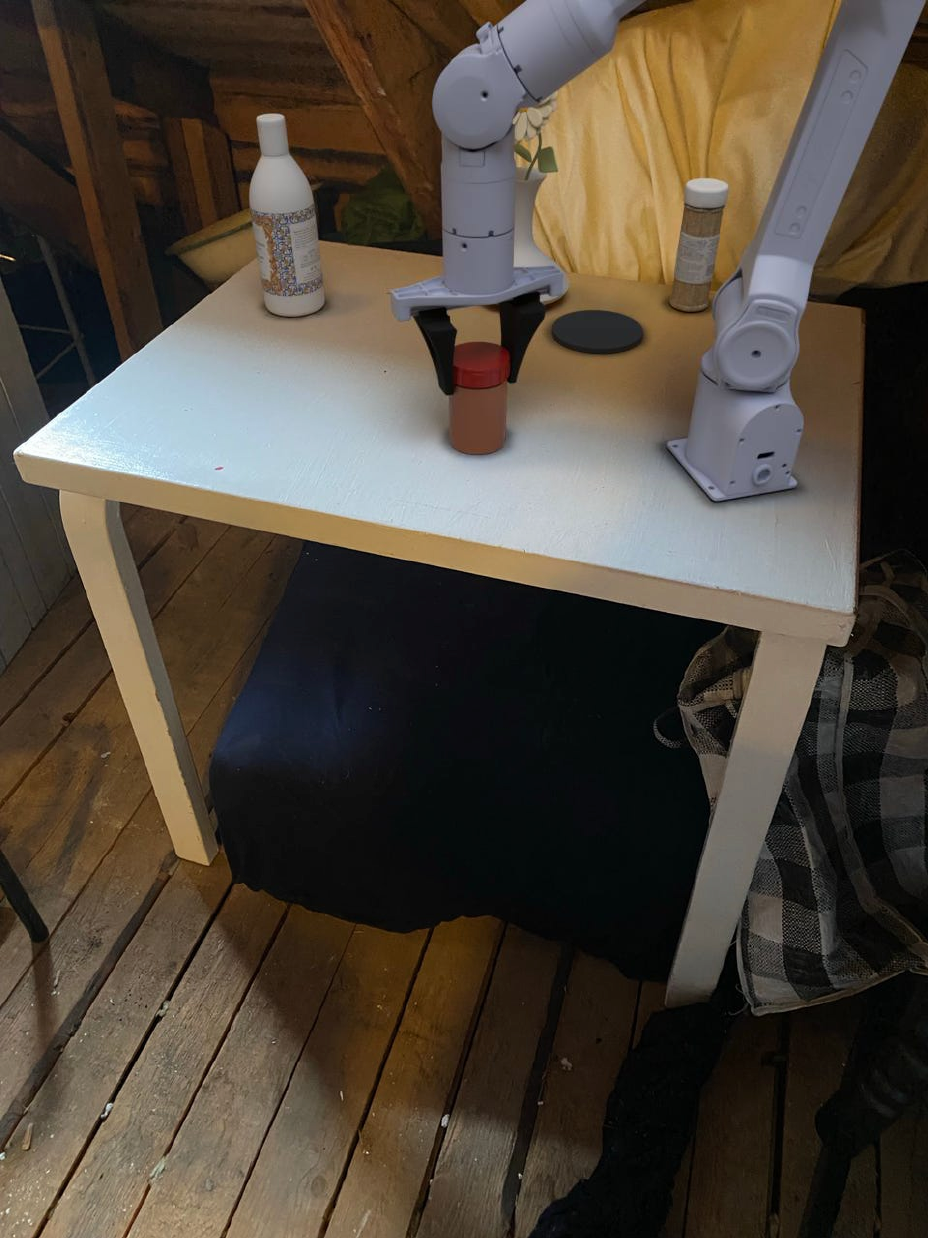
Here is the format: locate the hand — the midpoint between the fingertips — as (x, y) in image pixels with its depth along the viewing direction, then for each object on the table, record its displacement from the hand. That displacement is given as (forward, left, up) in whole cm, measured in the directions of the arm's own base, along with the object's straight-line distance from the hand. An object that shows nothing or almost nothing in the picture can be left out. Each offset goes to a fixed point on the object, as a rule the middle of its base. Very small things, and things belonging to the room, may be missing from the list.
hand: (478, 384), depth 81 cm
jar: (0, 0, -6) cm, 6 cm away
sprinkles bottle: (+22, -32, -6) cm, 39 cm away
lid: (0, 0, +2) cm, 2 cm away
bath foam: (+35, +12, -6) cm, 37 cm away
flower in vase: (+29, -14, -6) cm, 33 cm away
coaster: (+18, -19, -6) cm, 27 cm away
